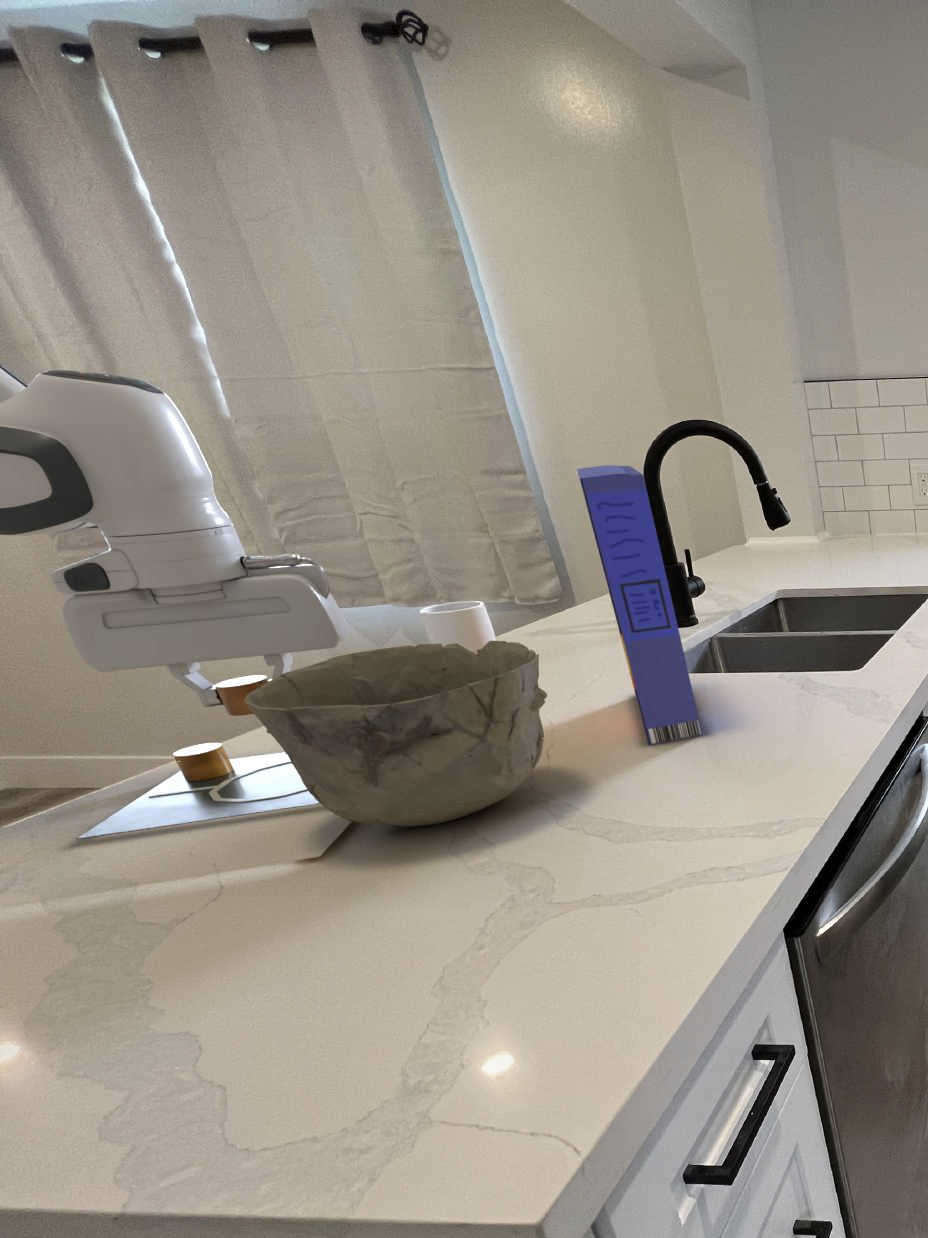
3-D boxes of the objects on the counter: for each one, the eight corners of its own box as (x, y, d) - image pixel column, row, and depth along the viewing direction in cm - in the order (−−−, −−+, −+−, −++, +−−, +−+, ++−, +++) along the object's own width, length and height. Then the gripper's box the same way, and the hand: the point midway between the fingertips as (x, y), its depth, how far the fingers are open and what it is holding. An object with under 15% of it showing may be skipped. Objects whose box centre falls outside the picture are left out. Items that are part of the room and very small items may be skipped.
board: (80, 848, 81) (74, 837, 80) (193, 772, 98) (189, 763, 98) (332, 810, 87) (328, 801, 86) (397, 745, 104) (394, 737, 104)
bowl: (608, 806, 85) (566, 660, 79) (338, 894, 71) (260, 724, 65) (533, 755, 99) (492, 627, 93) (295, 820, 85) (228, 674, 79)
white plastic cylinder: (531, 718, 112) (495, 603, 106) (476, 734, 107) (435, 614, 100) (504, 710, 115) (468, 598, 109) (450, 725, 110) (408, 609, 104)
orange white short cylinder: (220, 718, 85) (206, 689, 84) (239, 706, 88) (226, 678, 87) (268, 712, 86) (255, 683, 85) (286, 701, 89) (274, 673, 88)
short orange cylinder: (177, 784, 92) (164, 758, 91) (197, 770, 96) (184, 746, 94) (223, 778, 93) (210, 752, 92) (241, 765, 97) (229, 740, 96)
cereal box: (636, 699, 118) (576, 466, 105) (682, 691, 120) (629, 463, 108) (649, 747, 100) (579, 476, 88) (703, 737, 103) (642, 472, 90)
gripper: (329, 547, 87) (380, 678, 93) (71, 566, 81) (143, 706, 86) (303, 556, 81) (359, 695, 87) (24, 577, 75) (104, 725, 81)
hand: (249, 701), depth 87 cm, fingers closed on orange white short cylinder, 4 cm apart
